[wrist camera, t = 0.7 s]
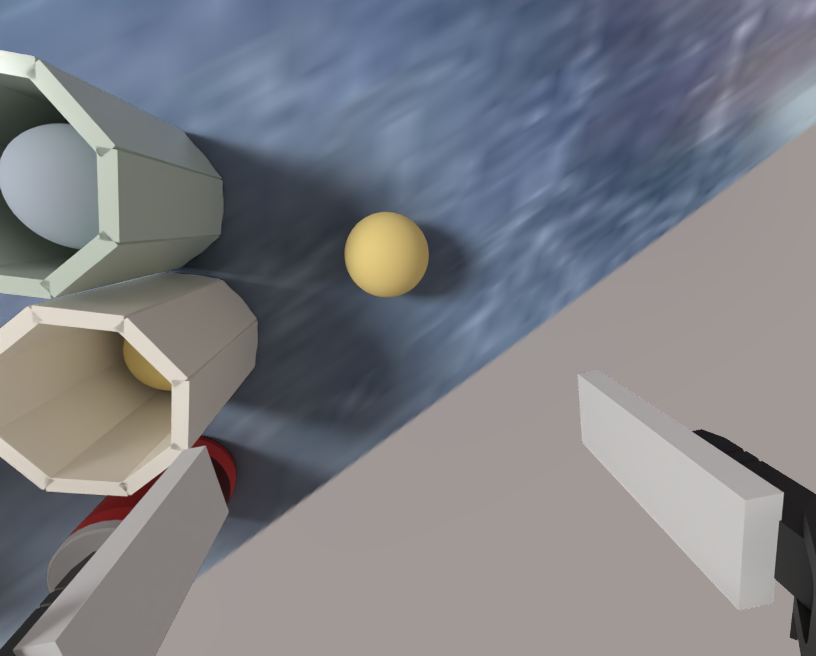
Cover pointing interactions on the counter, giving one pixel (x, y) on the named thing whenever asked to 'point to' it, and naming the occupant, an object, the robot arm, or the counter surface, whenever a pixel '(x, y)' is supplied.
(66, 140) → the blue-grey ball
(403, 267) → the ball loose
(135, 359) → the cream ball
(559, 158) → the counter surface
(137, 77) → the counter surface
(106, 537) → the canned food
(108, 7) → the counter surface
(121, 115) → the crock sage
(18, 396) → the crock cream
